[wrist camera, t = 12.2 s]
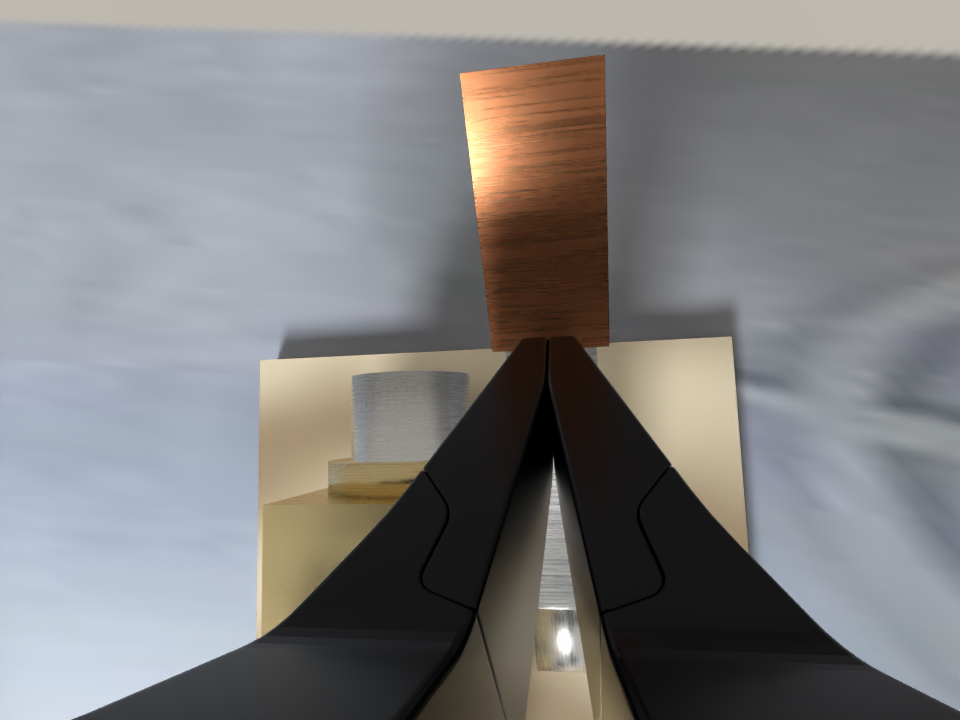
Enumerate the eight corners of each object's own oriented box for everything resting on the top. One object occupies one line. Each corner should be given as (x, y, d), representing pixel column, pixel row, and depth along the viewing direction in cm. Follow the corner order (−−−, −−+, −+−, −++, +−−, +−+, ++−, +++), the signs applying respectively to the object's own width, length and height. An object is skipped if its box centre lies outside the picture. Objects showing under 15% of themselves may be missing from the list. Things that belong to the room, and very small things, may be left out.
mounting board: (785, 1151, 15) (799, 1201, 14) (268, 1066, 18) (250, 1104, 17) (723, 341, 18) (731, 336, 17) (275, 363, 20) (260, 360, 19)
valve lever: (615, 700, 14) (606, 54, 8) (531, 696, 14) (456, 74, 8) (607, 602, 16) (595, 56, 10) (535, 600, 16) (481, 70, 10)
